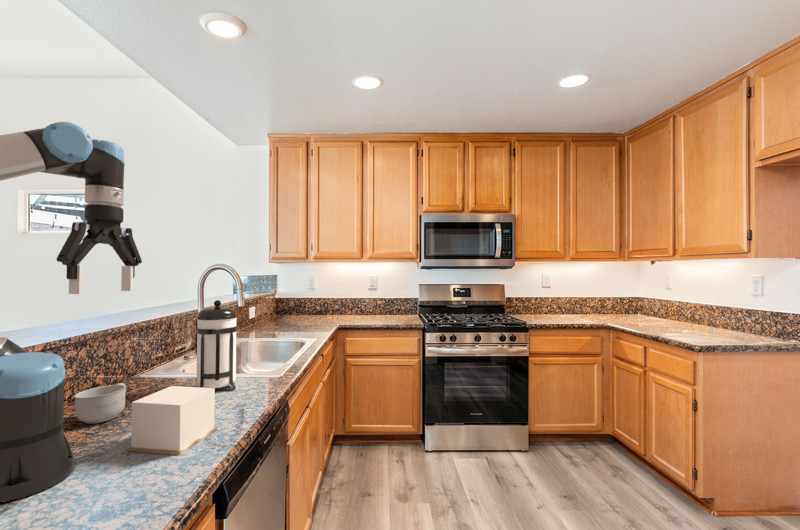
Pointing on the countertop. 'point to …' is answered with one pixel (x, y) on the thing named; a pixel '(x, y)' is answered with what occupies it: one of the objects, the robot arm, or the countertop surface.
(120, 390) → the teacup
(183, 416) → the cover
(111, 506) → the countertop surface
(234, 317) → the coffee press
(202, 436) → the board
